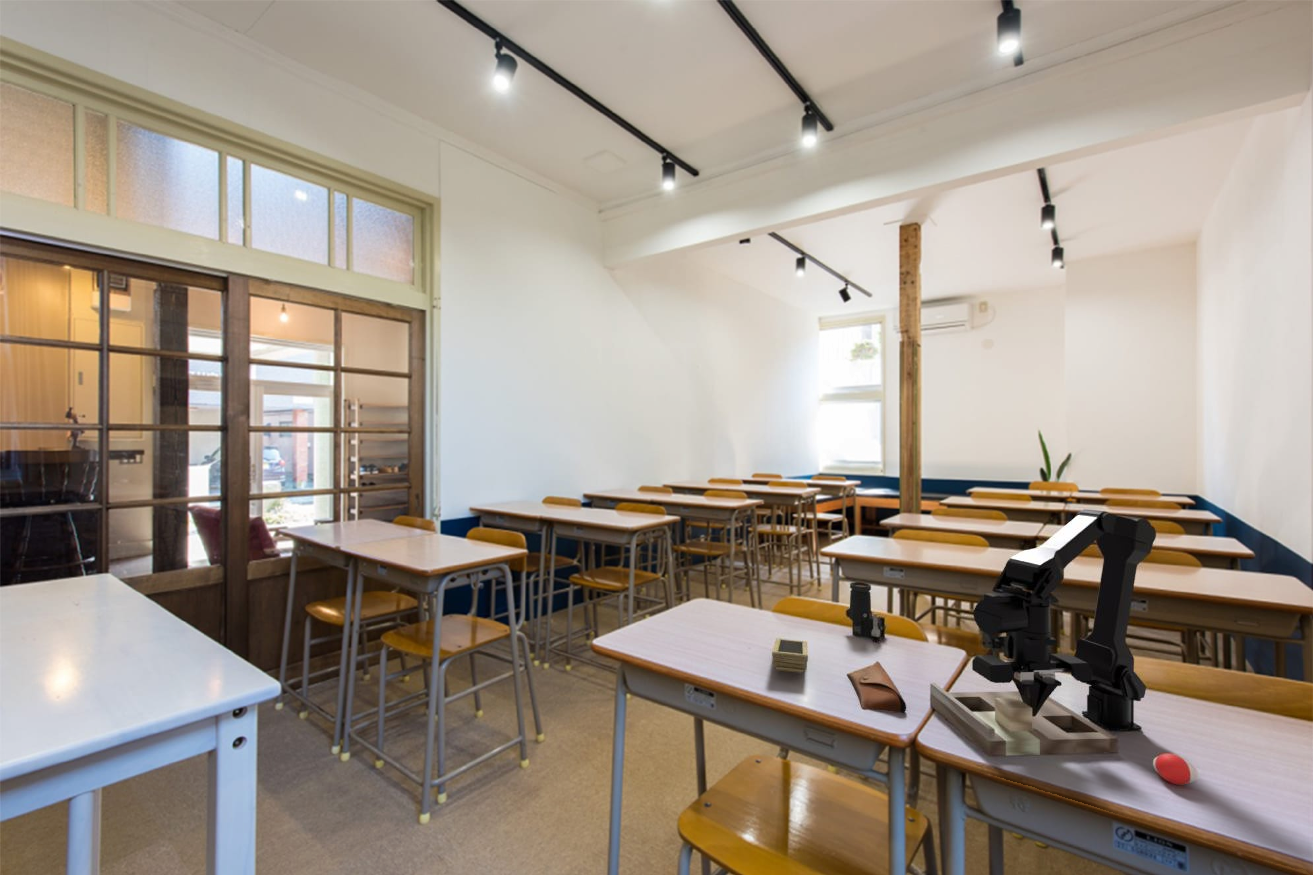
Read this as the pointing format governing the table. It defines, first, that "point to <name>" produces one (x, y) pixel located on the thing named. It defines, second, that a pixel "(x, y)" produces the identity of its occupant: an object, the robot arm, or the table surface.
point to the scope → (864, 613)
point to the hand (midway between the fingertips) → (1031, 715)
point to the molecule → (1175, 769)
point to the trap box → (1049, 733)
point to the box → (790, 655)
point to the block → (1013, 714)
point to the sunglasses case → (877, 689)
